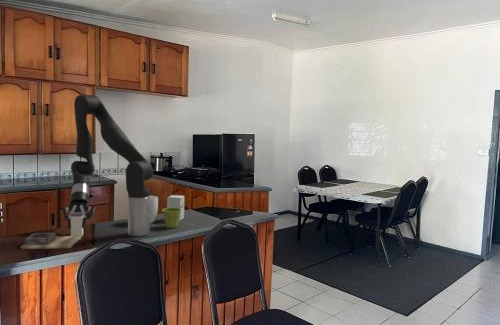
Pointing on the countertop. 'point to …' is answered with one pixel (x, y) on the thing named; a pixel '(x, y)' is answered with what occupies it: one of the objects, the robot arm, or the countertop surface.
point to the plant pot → (171, 217)
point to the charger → (76, 224)
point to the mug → (153, 207)
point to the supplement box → (176, 204)
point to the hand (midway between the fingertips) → (76, 227)
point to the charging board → (49, 241)
